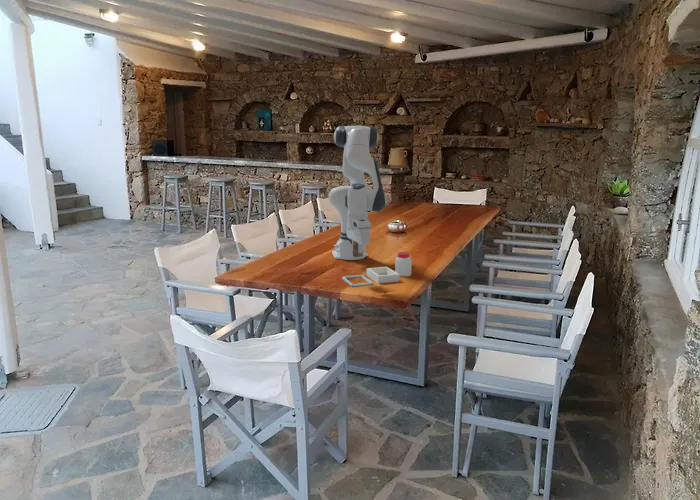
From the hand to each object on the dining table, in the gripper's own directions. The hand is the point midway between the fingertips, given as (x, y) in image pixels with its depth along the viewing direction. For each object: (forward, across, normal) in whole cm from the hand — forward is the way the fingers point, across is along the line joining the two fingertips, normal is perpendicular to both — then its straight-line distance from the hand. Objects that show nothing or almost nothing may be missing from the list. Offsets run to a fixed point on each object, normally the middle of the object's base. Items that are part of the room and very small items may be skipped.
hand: (357, 251), depth 240 cm
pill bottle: (+15, -4, +25) cm, 29 cm away
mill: (+2, 0, 0) cm, 2 cm away
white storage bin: (+15, -2, +13) cm, 20 cm away
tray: (+15, 0, 0) cm, 15 cm away
